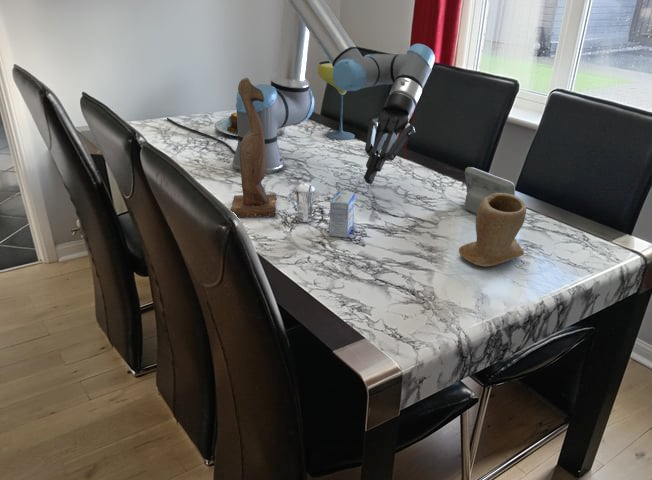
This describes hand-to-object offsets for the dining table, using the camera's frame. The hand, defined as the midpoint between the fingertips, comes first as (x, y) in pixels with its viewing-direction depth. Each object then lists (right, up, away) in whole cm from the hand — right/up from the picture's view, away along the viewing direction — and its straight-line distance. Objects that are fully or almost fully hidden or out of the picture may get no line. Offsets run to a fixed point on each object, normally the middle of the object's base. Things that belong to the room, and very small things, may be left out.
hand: (367, 180), depth 143 cm
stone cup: (+28, -20, -13) cm, 37 cm away
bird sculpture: (-29, -7, +5) cm, 30 cm away
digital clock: (+32, -6, +12) cm, 35 cm away
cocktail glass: (-8, +30, +72) cm, 78 cm away
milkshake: (-15, -10, 0) cm, 18 cm away
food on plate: (-41, +31, +70) cm, 87 cm away
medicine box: (-6, -13, -4) cm, 15 cm away
